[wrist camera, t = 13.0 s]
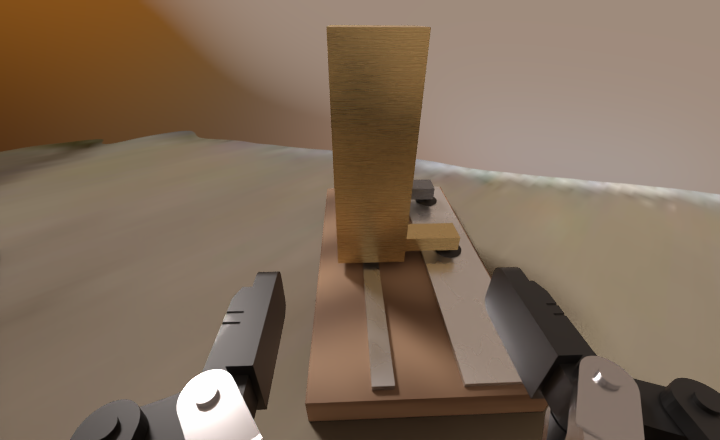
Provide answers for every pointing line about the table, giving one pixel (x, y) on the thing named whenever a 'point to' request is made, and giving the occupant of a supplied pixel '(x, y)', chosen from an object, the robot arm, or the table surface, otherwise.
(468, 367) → the divider base
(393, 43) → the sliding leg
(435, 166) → the table surface
